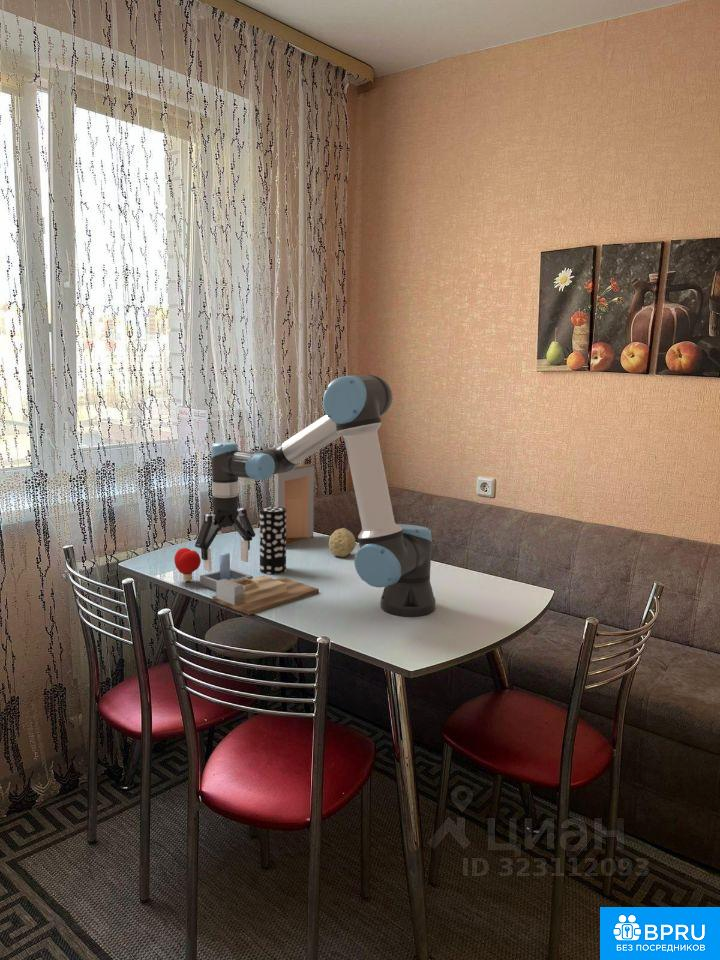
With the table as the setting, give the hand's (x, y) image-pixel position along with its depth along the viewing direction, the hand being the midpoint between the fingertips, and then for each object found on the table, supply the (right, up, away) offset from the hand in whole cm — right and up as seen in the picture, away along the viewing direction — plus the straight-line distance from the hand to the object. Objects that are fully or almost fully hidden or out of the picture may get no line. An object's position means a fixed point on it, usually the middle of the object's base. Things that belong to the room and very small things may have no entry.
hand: (226, 565), depth 216 cm
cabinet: (+12, +3, +54) cm, 55 cm away
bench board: (+13, -8, -8) cm, 17 cm away
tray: (0, -6, +1) cm, 6 cm away
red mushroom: (-12, -6, +4) cm, 14 cm away
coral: (+33, -1, +36) cm, 48 cm away
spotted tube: (+12, -4, +17) cm, 21 cm away
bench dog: (+4, -8, -15) cm, 18 cm away
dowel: (-1, -5, +1) cm, 6 cm away
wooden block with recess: (+10, -7, -9) cm, 15 cm away
